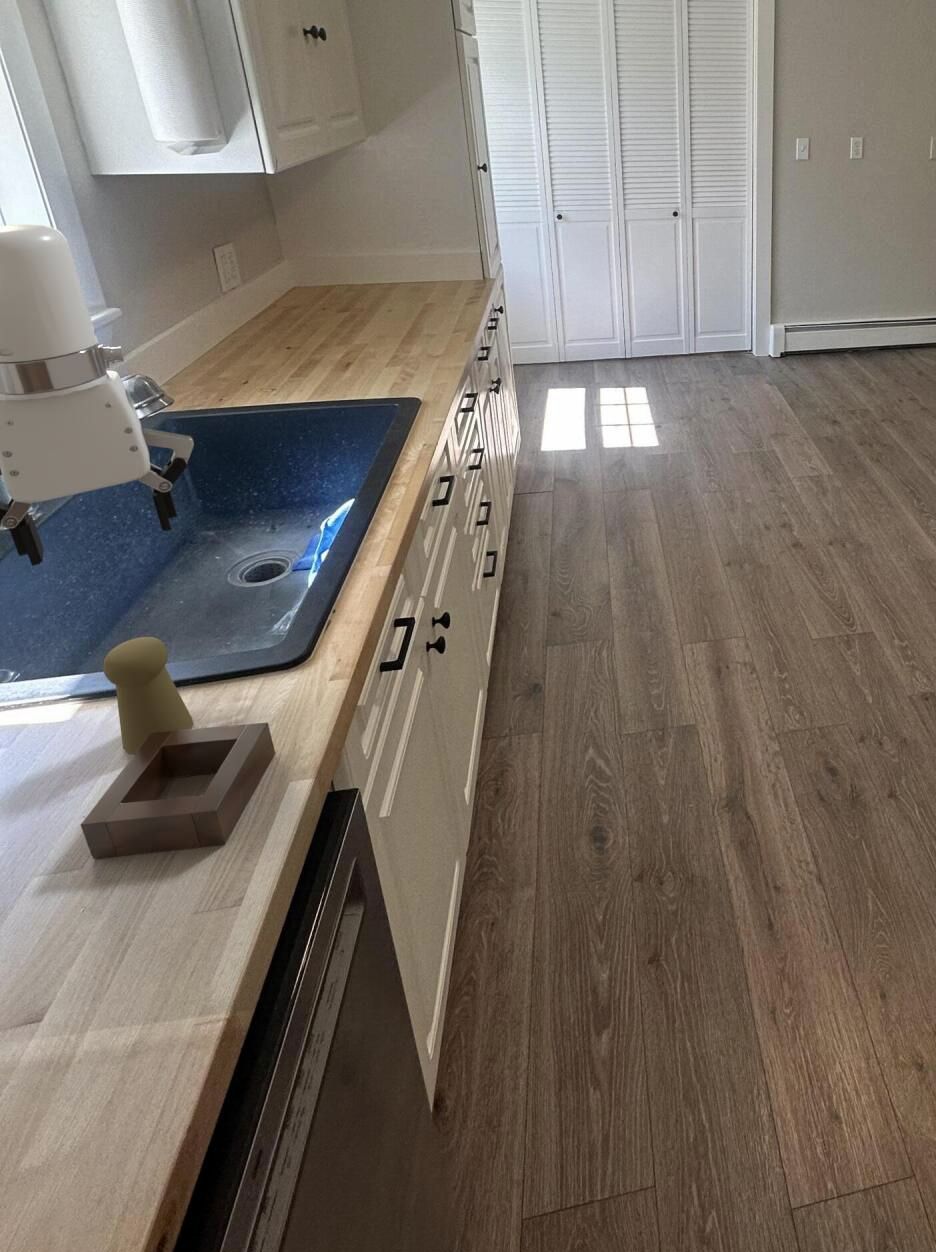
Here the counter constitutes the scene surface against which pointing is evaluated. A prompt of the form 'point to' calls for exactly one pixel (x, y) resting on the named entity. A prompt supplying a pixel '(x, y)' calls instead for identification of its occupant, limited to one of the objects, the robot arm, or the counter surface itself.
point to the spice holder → (154, 825)
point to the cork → (144, 691)
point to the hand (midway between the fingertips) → (104, 541)
